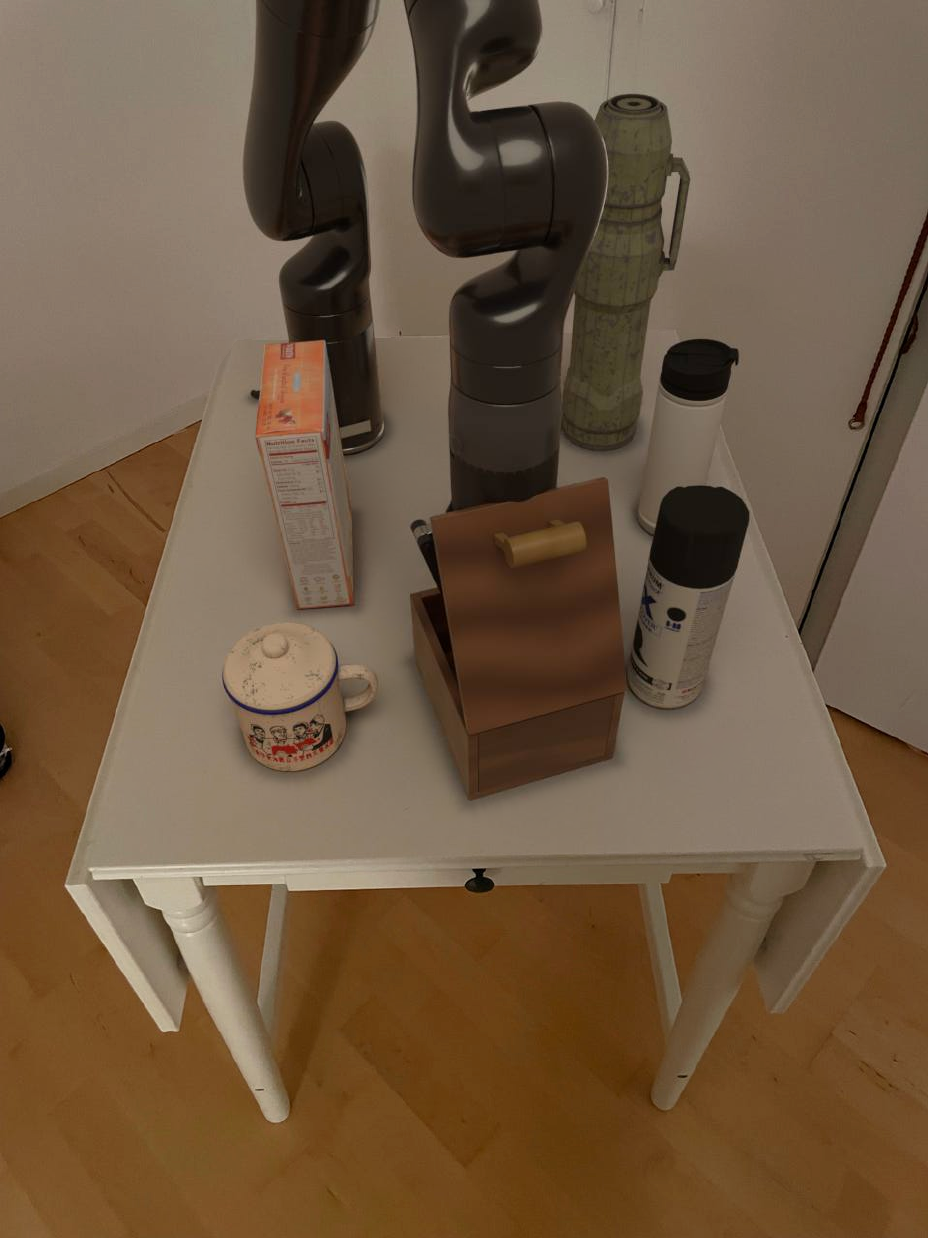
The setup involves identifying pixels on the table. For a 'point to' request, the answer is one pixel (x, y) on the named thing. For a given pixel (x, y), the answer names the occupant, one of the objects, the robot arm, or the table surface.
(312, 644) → the teacup with lid
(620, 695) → the chest
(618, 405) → the thermos
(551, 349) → the robot arm
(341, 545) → the cracker box
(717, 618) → the spray can
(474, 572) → the lid
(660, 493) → the travel mug
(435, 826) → the table surface
